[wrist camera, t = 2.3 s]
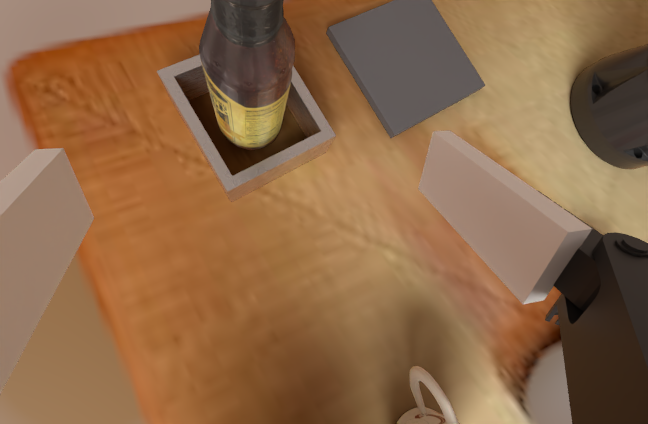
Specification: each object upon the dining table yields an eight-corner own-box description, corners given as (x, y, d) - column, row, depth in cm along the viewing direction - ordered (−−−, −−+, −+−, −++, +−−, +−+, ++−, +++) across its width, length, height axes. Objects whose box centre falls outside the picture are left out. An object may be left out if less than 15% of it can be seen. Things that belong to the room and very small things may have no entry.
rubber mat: (419, -5, 40) (423, -12, 39) (479, 89, 40) (485, 85, 39) (326, 33, 37) (328, 27, 36) (390, 138, 36) (394, 134, 35)
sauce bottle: (218, 95, 33) (166, -146, 14) (280, 97, 34) (311, -119, 15) (219, 156, 32) (165, -11, 13) (282, 157, 33) (320, 5, 14)
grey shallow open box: (268, 57, 35) (270, 27, 30) (325, 152, 34) (335, 135, 30) (169, 97, 32) (156, 71, 28) (231, 202, 31) (227, 191, 27)
